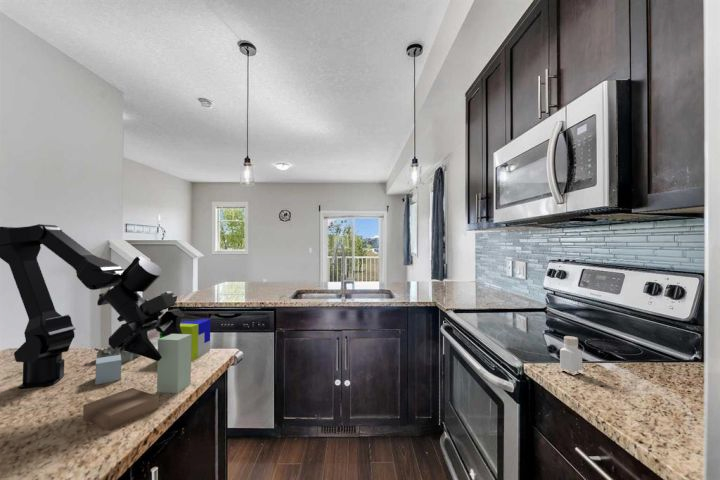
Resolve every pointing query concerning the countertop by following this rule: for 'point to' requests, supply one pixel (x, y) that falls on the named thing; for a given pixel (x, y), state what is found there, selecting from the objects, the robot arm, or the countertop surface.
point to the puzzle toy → (197, 335)
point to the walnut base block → (120, 408)
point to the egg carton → (110, 352)
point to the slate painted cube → (108, 369)
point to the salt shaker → (571, 355)
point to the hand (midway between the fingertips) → (173, 353)
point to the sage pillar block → (174, 363)
